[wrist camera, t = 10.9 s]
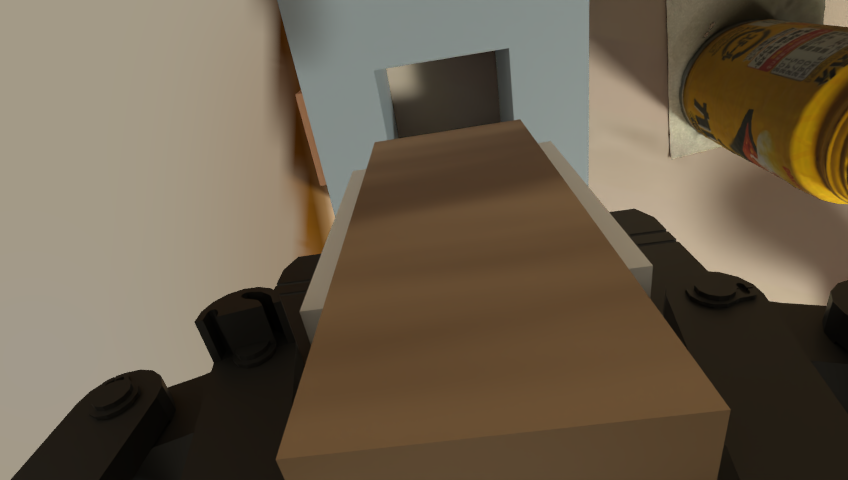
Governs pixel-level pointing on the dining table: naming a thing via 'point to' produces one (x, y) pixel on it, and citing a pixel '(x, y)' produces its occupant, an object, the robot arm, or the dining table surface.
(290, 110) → the dining table surface
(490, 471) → the plug
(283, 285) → the robot arm
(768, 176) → the dining table surface
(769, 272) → the dining table surface
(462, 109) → the dining table surface
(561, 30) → the socket block
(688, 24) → the condiment
